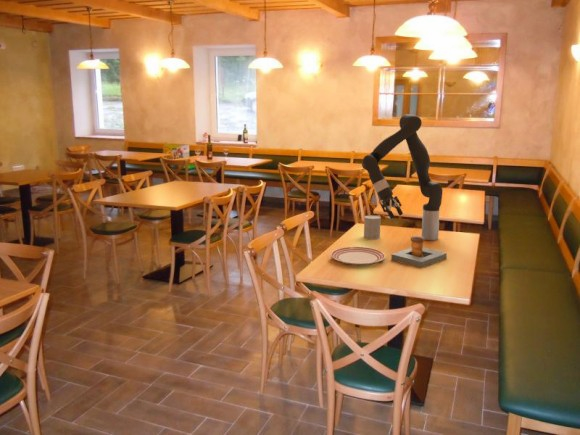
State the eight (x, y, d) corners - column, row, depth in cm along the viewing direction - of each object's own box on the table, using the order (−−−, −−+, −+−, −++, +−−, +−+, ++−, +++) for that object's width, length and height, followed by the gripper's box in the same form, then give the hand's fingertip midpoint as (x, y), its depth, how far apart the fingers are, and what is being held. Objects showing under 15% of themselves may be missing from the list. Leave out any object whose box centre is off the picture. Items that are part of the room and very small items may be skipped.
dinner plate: (384, 270, 250) (384, 263, 249) (327, 266, 255) (327, 260, 255) (385, 253, 276) (385, 247, 276) (333, 251, 282) (333, 245, 281)
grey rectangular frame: (416, 251, 280) (416, 246, 279) (446, 258, 267) (446, 253, 266) (391, 259, 265) (391, 254, 264) (421, 268, 252) (422, 262, 252)
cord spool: (414, 255, 272) (415, 235, 269) (425, 258, 267) (426, 237, 265) (407, 258, 267) (408, 237, 265) (418, 261, 263) (419, 240, 260)
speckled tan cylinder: (362, 238, 306) (363, 218, 303) (365, 234, 315) (365, 214, 312) (378, 239, 303) (379, 219, 300) (381, 235, 312) (381, 215, 309)
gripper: (380, 188, 270) (395, 216, 268) (395, 184, 280) (409, 210, 278) (370, 195, 275) (384, 222, 273) (385, 190, 286) (398, 216, 283)
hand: (397, 216), depth 275 cm, fingers open, 8 cm apart
